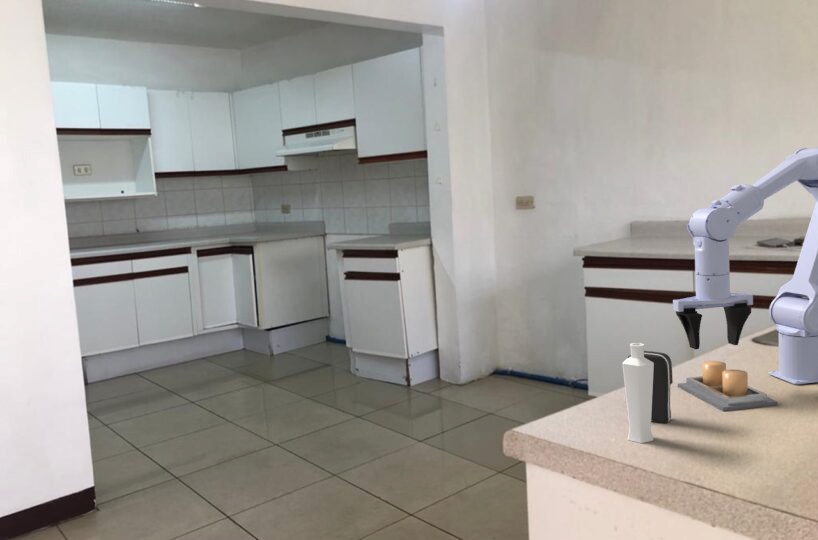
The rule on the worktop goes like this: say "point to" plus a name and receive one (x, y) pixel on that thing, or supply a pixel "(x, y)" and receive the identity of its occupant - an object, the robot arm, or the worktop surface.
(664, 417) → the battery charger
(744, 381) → the frame
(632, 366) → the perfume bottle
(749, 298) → the robot arm
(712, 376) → the peach rounded capsule
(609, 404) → the worktop surface
